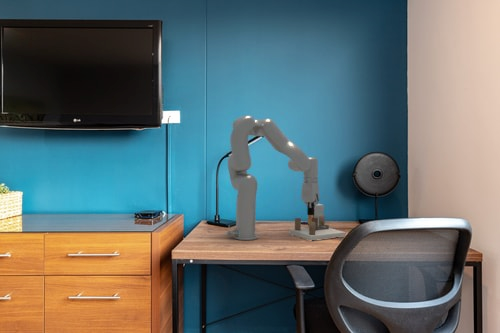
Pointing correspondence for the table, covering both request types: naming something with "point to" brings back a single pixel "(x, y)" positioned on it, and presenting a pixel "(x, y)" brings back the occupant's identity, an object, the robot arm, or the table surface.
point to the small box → (317, 213)
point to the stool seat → (315, 234)
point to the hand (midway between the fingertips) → (310, 214)
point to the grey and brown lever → (319, 226)
